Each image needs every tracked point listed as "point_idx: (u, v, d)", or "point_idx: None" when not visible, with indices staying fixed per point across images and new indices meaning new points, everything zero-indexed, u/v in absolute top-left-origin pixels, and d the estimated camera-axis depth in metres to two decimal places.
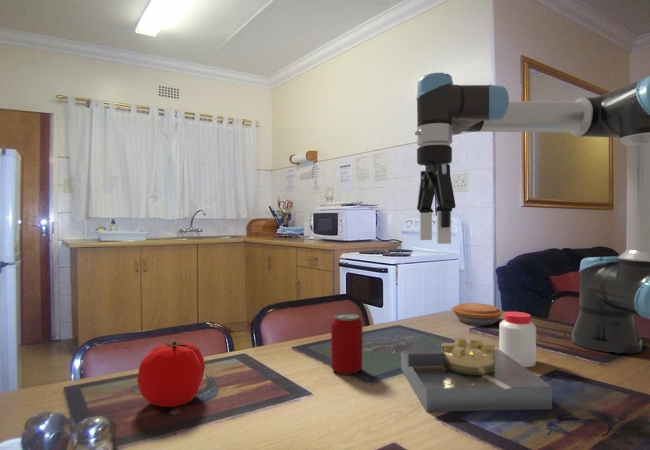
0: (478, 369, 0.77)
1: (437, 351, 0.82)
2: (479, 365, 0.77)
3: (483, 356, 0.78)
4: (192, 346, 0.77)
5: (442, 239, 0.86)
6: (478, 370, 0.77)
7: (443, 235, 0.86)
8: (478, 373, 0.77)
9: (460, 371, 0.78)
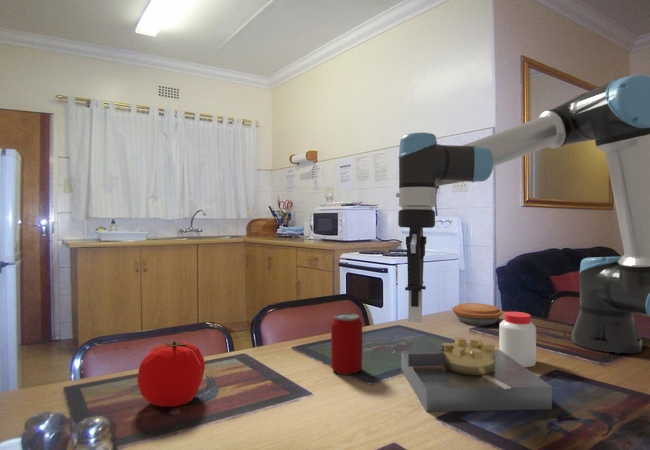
0: (478, 369, 0.77)
1: (437, 351, 0.82)
2: (479, 365, 0.77)
3: (483, 356, 0.78)
4: (192, 346, 0.77)
5: (412, 317, 0.87)
6: (478, 370, 0.77)
7: (413, 313, 0.87)
8: (478, 373, 0.77)
9: (460, 371, 0.78)
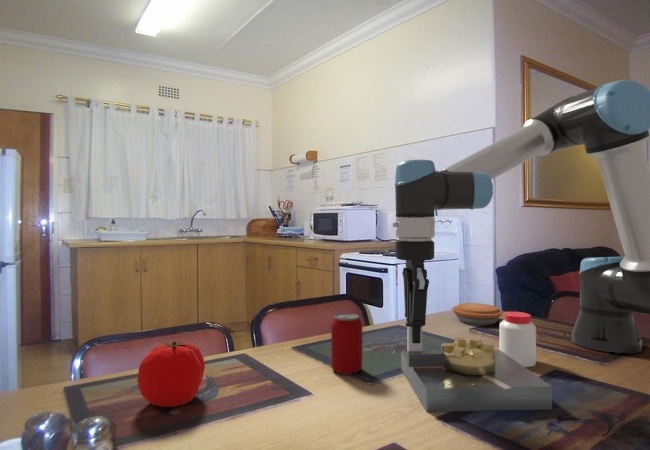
0: (478, 369, 0.77)
1: (437, 351, 0.82)
2: (480, 365, 0.77)
3: (484, 356, 0.78)
4: (192, 346, 0.77)
5: None
6: (479, 370, 0.77)
7: (414, 350, 0.82)
8: (479, 373, 0.77)
9: (461, 371, 0.78)
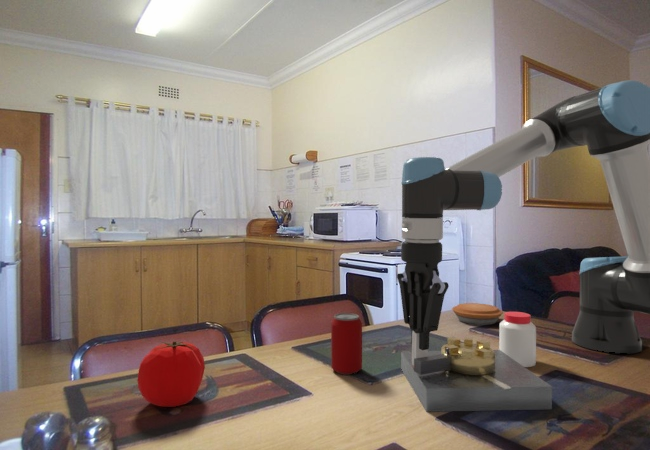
0: (487, 368, 0.77)
1: (442, 355, 0.80)
2: (488, 364, 0.77)
3: None
4: (192, 346, 0.77)
5: None
6: (487, 369, 0.77)
7: (421, 357, 0.78)
8: (487, 372, 0.77)
9: (471, 372, 0.77)
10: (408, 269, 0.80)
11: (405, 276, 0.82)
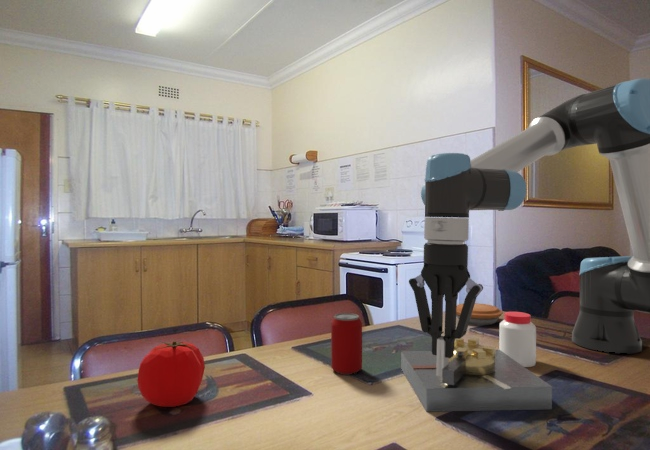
0: (494, 365, 0.79)
1: (456, 359, 0.77)
2: (494, 361, 0.79)
3: None
4: (192, 346, 0.77)
5: None
6: (494, 366, 0.79)
7: (445, 366, 0.74)
8: (494, 369, 0.79)
9: (485, 372, 0.77)
10: (428, 273, 0.74)
11: (420, 281, 0.76)
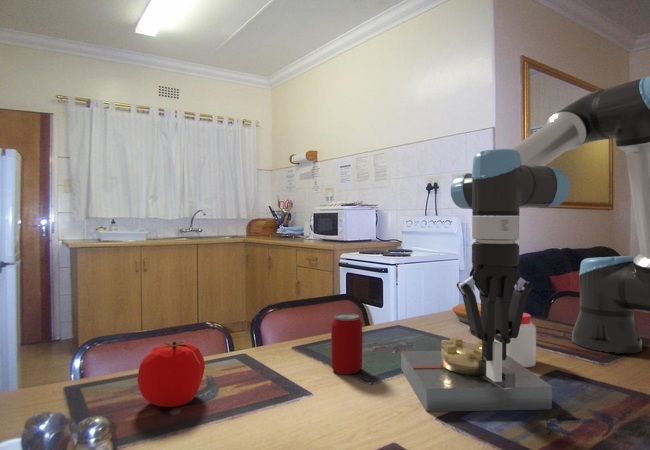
0: None
1: (485, 361, 0.76)
2: None
3: None
4: (192, 346, 0.77)
5: None
6: None
7: None
8: None
9: None
10: (484, 276, 0.70)
11: (471, 285, 0.70)
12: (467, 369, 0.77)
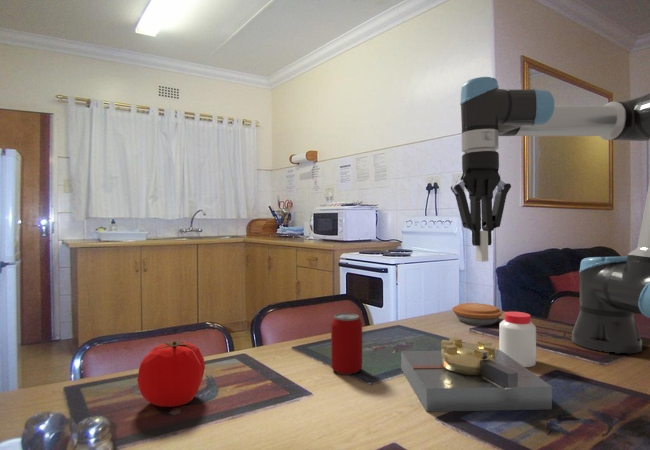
0: None
1: (486, 361, 0.76)
2: None
3: None
4: (192, 346, 0.77)
5: None
6: None
7: None
8: None
9: None
10: (471, 178, 0.89)
11: (462, 186, 0.89)
12: (468, 369, 0.77)
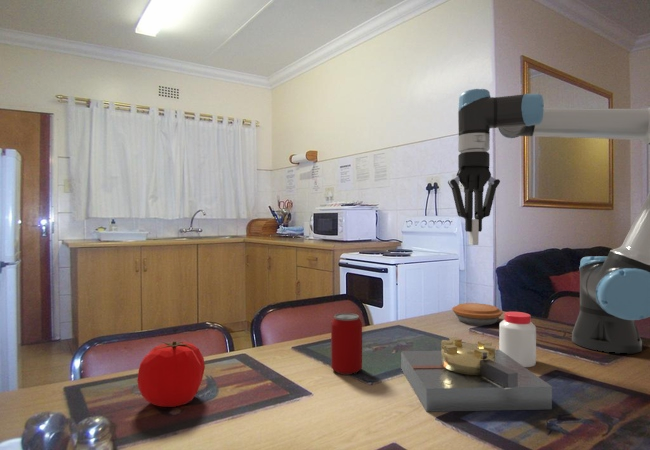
0: None
1: (486, 361, 0.76)
2: None
3: None
4: (192, 346, 0.77)
5: None
6: None
7: None
8: None
9: None
10: (465, 174, 1.05)
11: (457, 181, 1.06)
12: (468, 369, 0.77)
